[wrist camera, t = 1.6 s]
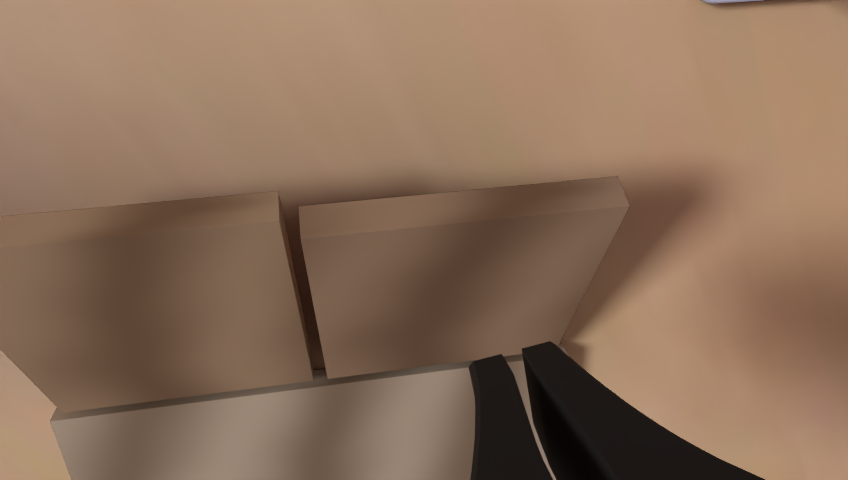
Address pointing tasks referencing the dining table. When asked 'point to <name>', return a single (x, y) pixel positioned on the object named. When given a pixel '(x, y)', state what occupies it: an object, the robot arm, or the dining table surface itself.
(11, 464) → the dining table surface
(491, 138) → the dining table surface
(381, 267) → the plank
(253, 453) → the grey slab
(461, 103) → the dining table surface
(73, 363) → the plank
